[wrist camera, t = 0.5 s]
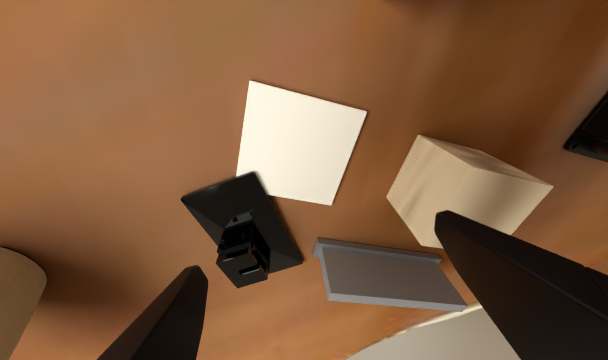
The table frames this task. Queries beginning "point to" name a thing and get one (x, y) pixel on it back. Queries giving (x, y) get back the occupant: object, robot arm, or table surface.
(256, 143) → the reading pad
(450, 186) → the letter block
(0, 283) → the plant pot
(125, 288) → the table surface
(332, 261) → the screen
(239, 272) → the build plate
